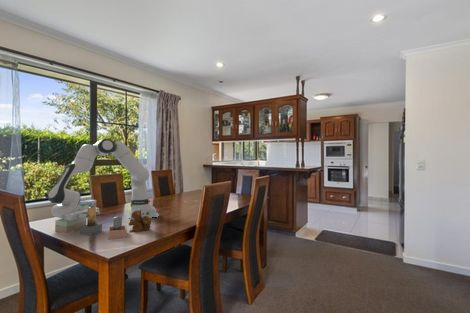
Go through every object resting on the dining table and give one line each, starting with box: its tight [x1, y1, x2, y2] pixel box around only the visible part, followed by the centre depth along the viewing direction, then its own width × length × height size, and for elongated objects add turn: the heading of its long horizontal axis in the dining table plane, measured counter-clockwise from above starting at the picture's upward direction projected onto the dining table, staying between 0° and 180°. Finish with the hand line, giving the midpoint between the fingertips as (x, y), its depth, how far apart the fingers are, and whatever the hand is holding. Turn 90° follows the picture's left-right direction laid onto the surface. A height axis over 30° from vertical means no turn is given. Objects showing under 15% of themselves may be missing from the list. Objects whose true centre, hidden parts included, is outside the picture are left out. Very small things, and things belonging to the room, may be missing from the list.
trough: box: [54, 218, 87, 234], centre depth 156 cm, size 14×9×7 cm, turn 164°
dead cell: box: [112, 215, 123, 231], centre depth 144 cm, size 4×4×12 cm
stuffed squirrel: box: [128, 210, 152, 233], centre depth 156 cm, size 10×14×13 cm
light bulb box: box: [78, 199, 97, 207], centre depth 195 cm, size 11×7×11 cm, turn 168°
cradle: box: [79, 222, 103, 236], centre depth 148 cm, size 9×7×5 cm
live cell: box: [86, 206, 97, 226], centre depth 148 cm, size 4×4×12 cm
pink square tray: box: [107, 224, 128, 240], centre depth 144 cm, size 10×10×5 cm
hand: (92, 214), depth 148 cm, fingers open, 8 cm apart
